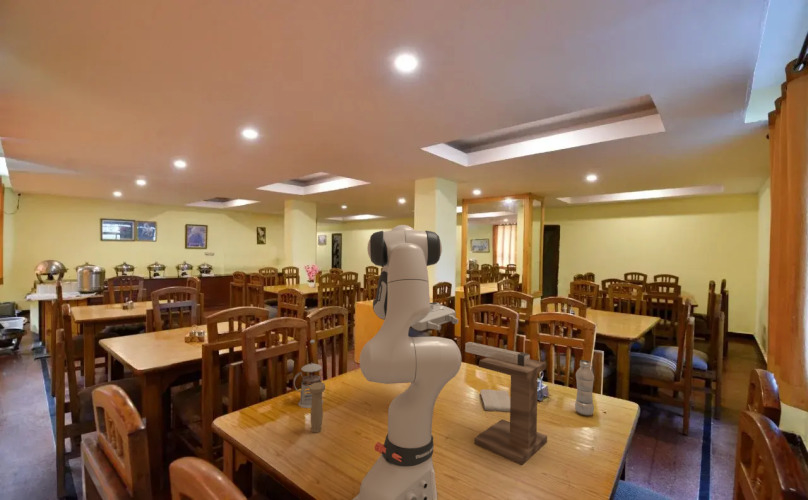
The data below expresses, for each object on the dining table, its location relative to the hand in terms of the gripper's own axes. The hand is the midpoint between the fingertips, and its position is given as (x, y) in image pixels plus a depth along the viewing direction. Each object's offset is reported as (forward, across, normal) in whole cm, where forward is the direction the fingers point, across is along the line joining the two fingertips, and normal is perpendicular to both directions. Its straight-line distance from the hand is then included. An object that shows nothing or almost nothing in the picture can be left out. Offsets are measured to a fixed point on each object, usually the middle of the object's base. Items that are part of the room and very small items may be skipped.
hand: (448, 324), depth 130 cm
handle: (-18, -44, +33) cm, 58 cm away
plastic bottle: (+36, +41, +35) cm, 64 cm away
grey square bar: (+19, +2, +6) cm, 20 cm away
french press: (-39, -36, +37) cm, 65 cm away
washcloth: (+8, +23, +37) cm, 44 cm away
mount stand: (+29, 0, +31) cm, 42 cm away
